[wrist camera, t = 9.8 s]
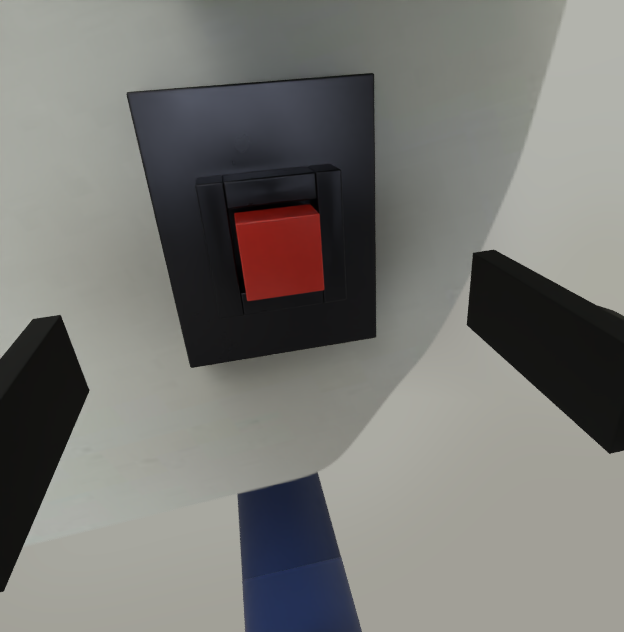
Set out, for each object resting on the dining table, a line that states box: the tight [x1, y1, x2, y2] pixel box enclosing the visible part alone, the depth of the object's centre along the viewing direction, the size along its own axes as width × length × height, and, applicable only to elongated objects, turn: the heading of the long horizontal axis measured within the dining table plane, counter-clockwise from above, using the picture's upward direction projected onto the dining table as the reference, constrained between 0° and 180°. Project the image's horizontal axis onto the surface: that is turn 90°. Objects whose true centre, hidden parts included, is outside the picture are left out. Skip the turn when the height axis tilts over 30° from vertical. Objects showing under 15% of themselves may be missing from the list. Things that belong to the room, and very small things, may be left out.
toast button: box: [234, 204, 324, 301], centre depth 20 cm, size 4×4×2 cm
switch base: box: [127, 73, 376, 368], centre depth 23 cm, size 14×11×5 cm
